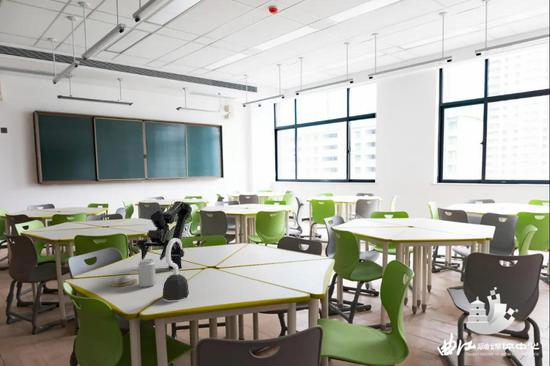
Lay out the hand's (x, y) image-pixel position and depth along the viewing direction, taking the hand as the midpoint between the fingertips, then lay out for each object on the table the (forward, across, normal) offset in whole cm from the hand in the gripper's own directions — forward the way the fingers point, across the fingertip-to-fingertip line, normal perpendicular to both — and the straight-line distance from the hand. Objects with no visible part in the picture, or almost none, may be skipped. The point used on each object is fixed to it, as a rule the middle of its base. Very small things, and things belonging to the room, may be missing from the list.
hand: (151, 259), depth 169 cm
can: (+11, 0, +5) cm, 12 cm away
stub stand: (+9, -13, +7) cm, 18 cm away
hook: (+22, +20, -5) cm, 30 cm away
